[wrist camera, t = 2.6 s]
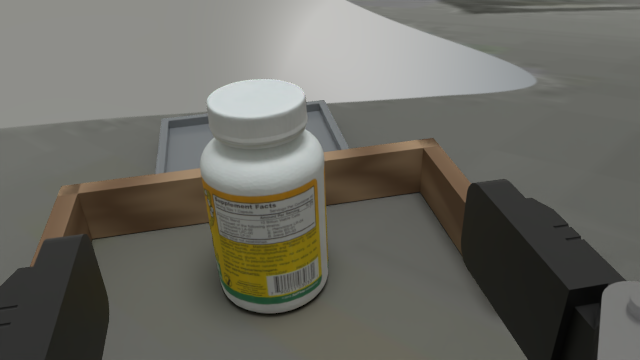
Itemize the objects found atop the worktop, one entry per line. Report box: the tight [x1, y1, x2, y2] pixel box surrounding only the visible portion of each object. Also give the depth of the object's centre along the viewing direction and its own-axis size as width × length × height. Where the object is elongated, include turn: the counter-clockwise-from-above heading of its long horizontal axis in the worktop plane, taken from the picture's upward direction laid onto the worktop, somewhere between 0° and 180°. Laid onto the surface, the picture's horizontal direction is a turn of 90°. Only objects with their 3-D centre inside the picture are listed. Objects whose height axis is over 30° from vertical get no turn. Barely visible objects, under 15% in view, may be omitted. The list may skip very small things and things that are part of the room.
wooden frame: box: [30, 138, 471, 267], centre depth 27 cm, size 21×12×3 cm, turn 101°
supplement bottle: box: [200, 79, 328, 313], centre depth 24 cm, size 5×5×10 cm
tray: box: [155, 100, 349, 174], centre depth 37 cm, size 12×9×2 cm
